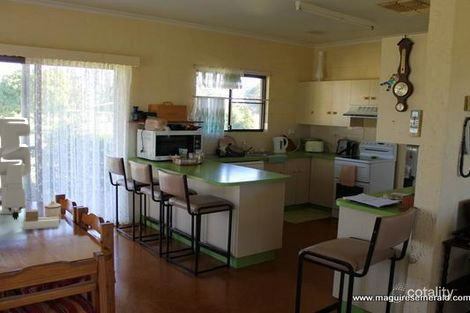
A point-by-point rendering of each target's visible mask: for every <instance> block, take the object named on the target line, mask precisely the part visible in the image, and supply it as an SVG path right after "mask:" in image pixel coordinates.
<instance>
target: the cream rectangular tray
mask: <svg viewBox="0 0 470 313" xmlns="http://www.w3.org/2000/svg"><path fill="white" fill-rule="evenodd" d="M59 226H60V221H59V219H58V216H57V217H45V216H44V217H43V216H42V217H38V221H28V222H26V218H23V220H22V230H33V229H34V230H35V228H37V229H47V228H48V229H50V228H59ZM49 227H50V228H49Z"/></svg>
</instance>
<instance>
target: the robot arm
mask: <svg viewBox="0 0 470 313" xmlns="http://www.w3.org/2000/svg"><path fill="white" fill-rule="evenodd" d="M30 133H31V126H30V123H29V120H28V119H27V118H26V117H25V118H24V117H0V188H1V189H0V194H1V196H0V197H1V209H0V215H12V219H13V220H18V219H19V214H20V213H21V212H22V211H23V210H22V209H26V208H27V204H26V198H27V197H26V190H25V188H24V187H23V185H24V183H23V178H25V177H28V176H30V175H31V172H32V171H31V170H32V169H31V149H30V147H29V145H27V144H21V142H20V137H28V136H30ZM1 160H5V161H1Z"/></svg>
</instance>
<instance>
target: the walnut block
mask: <svg viewBox="0 0 470 313" xmlns="http://www.w3.org/2000/svg"><path fill="white" fill-rule="evenodd" d="M38 218H39V209H38V208H35V209H26V210H25V219H26V222H28V221H38Z"/></svg>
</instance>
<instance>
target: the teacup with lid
mask: <svg viewBox="0 0 470 313" xmlns="http://www.w3.org/2000/svg"><path fill="white" fill-rule="evenodd" d="M57 216H58V219H59V222H60V221H61V220H62V205H61V204H60V203H58V202H55V200H51V201H50V202H49V203H48V204H45V205H44V217H57Z"/></svg>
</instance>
